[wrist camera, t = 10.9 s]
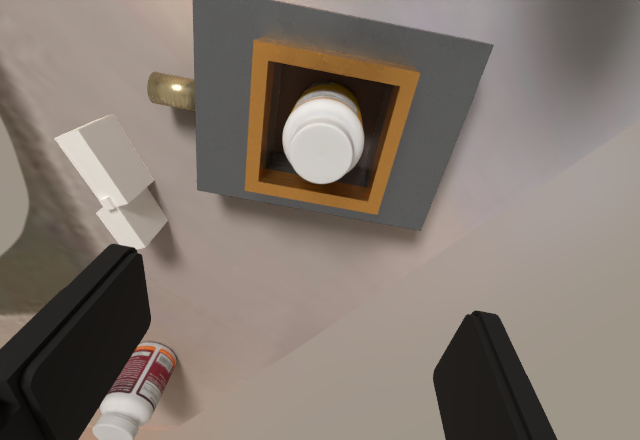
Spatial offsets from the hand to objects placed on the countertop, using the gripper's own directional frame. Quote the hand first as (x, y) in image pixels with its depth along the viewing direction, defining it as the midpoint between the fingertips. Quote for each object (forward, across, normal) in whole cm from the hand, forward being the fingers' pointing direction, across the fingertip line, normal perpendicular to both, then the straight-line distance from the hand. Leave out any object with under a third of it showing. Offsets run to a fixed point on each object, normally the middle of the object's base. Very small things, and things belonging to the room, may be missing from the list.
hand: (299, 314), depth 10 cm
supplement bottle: (+23, 0, 0) cm, 23 cm away
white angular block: (+23, +19, +10) cm, 32 cm away
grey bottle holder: (+23, +3, 0) cm, 23 cm away
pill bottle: (+23, +19, +38) cm, 48 cm away
